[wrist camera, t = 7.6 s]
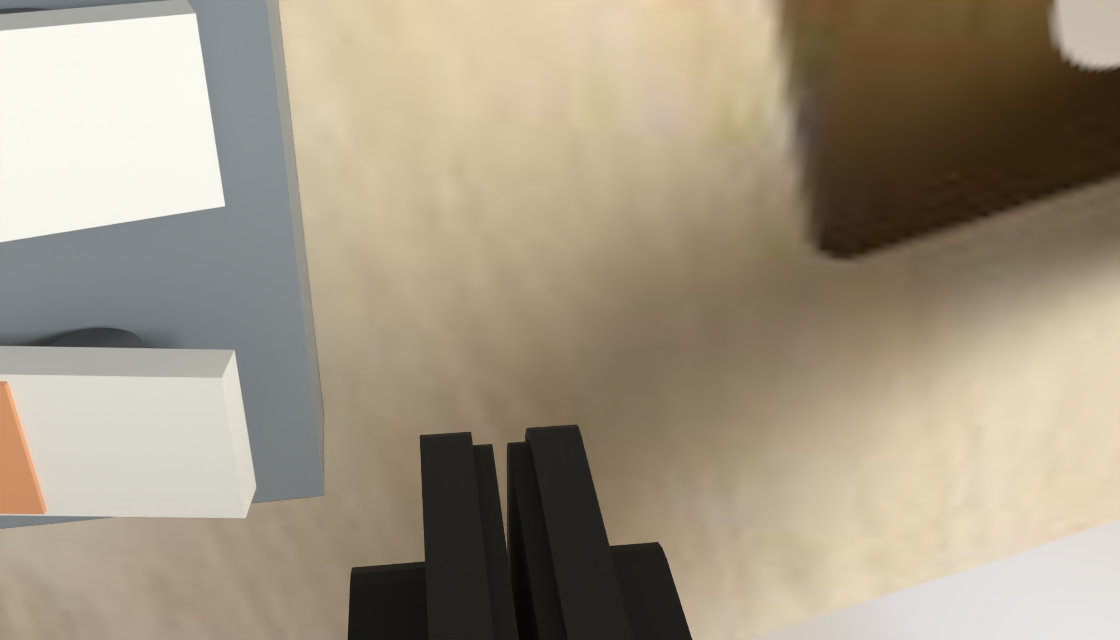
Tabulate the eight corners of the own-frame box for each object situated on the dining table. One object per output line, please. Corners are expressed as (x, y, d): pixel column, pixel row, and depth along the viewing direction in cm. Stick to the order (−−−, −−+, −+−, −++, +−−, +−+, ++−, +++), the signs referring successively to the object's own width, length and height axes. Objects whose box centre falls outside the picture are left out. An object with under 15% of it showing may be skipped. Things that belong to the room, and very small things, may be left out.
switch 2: (246, 323, 26) (219, 382, 24) (266, 458, 29) (244, 522, 27) (-34, 318, 26) (-86, 376, 24) (9, 455, 29) (-34, 519, 26)
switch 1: (177, -15, 23) (197, 15, 21) (205, 166, 26) (226, 209, 24) (-190, 14, 21) (-206, 52, 19) (-121, 214, 23) (-128, 266, 21)
